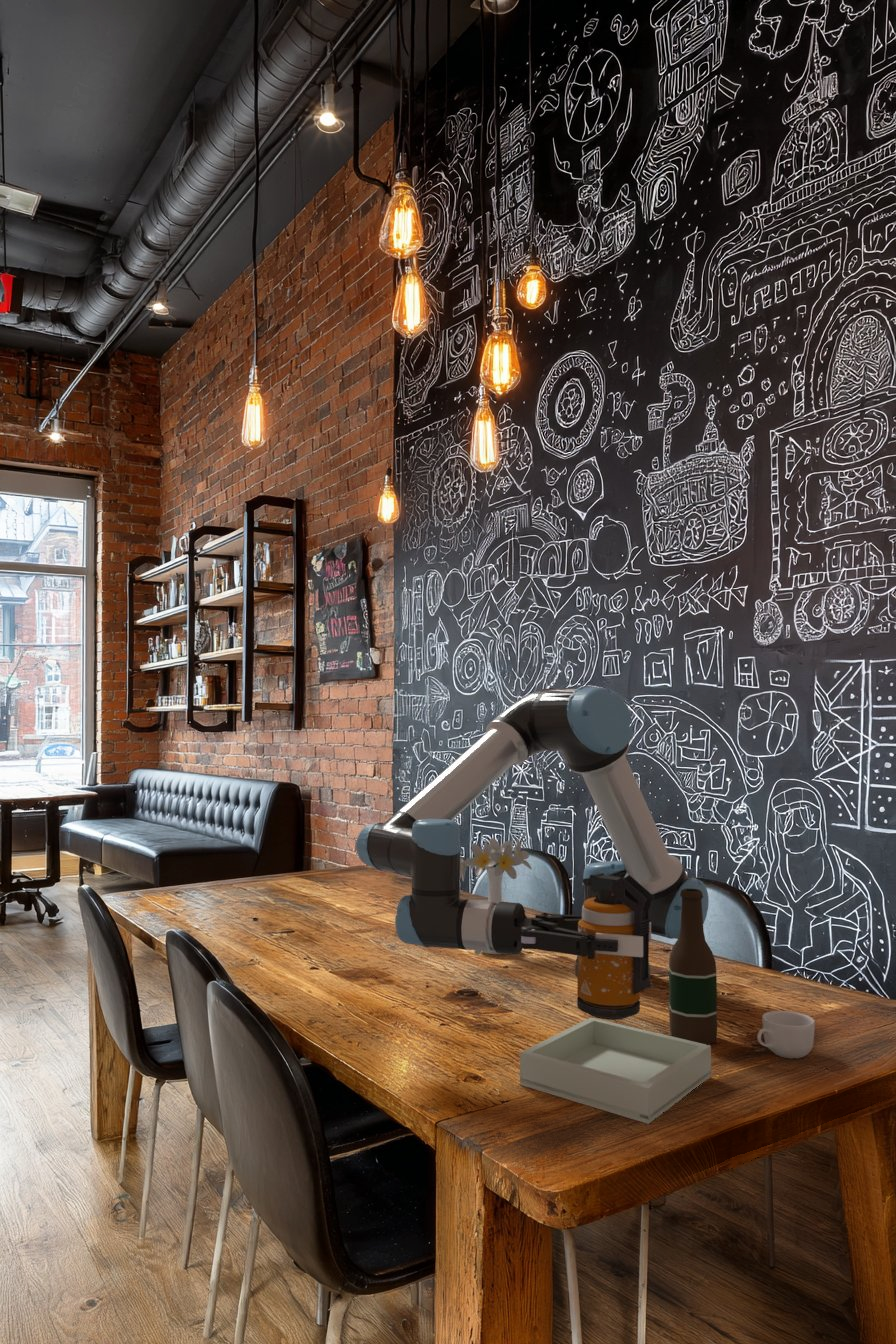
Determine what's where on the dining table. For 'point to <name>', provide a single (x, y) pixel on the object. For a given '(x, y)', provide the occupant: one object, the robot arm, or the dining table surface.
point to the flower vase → (495, 866)
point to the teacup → (787, 1033)
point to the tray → (616, 1068)
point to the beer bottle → (692, 977)
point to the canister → (614, 978)
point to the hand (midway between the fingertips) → (646, 939)
